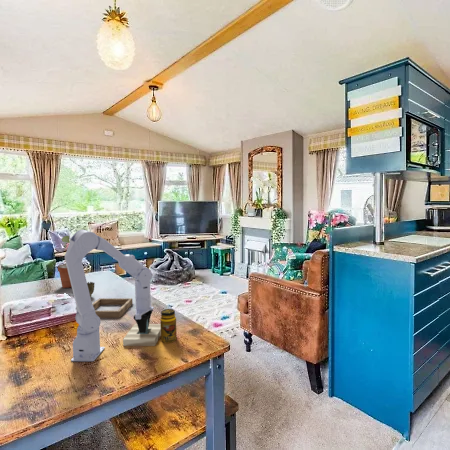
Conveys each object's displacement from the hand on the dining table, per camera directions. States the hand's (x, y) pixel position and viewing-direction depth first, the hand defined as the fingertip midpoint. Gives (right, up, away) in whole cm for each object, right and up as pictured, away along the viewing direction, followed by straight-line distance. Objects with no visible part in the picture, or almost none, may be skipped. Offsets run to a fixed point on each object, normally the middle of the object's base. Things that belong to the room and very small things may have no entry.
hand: (144, 330), depth 122 cm
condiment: (+9, -4, -1) cm, 10 cm away
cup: (-45, +1, +50) cm, 67 cm away
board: (0, -3, 0) cm, 3 cm away
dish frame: (-25, -1, +30) cm, 39 cm away
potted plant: (-65, +3, +74) cm, 98 cm away
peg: (0, -3, 0) cm, 3 cm away
